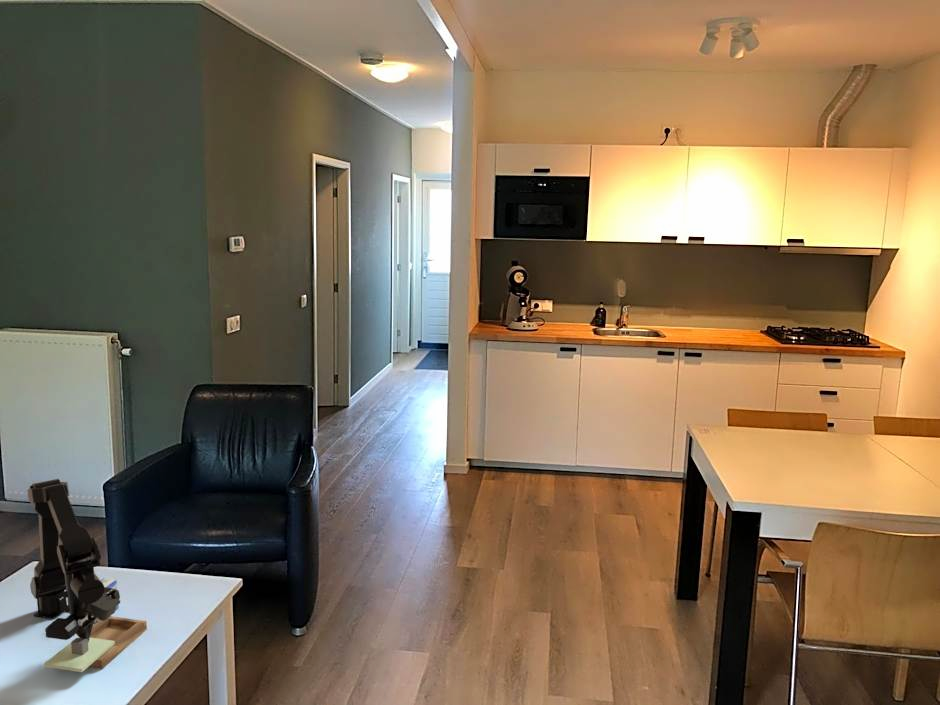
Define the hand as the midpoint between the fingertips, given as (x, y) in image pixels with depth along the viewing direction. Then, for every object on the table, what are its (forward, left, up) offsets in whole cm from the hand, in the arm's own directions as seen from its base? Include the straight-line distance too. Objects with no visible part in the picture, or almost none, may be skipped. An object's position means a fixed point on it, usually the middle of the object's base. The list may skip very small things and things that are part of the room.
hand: (86, 643), depth 185 cm
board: (0, +7, -5) cm, 8 cm away
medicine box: (-10, +20, -5) cm, 22 cm away
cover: (0, -2, -2) cm, 3 cm away
